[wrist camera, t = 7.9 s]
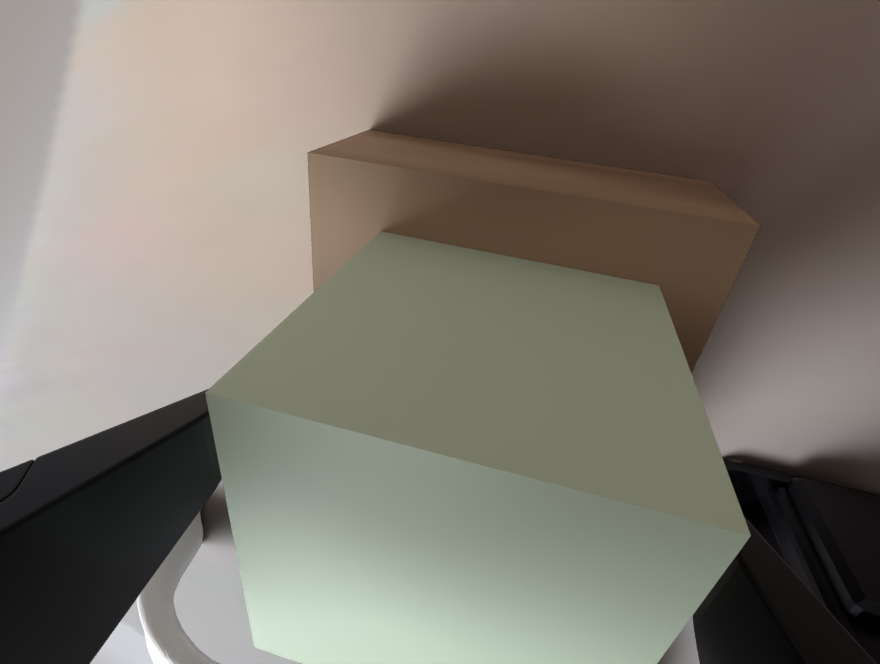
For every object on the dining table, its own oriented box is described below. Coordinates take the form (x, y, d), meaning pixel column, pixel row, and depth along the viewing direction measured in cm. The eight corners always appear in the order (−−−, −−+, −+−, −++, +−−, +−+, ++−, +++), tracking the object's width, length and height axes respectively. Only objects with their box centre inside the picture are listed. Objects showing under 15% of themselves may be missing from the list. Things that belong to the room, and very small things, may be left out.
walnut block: (608, 436, 17) (616, 532, 13) (367, 380, 18) (321, 454, 15) (708, 178, 12) (760, 225, 9) (373, 128, 13) (307, 152, 10)
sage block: (581, 484, 13) (585, 760, 8) (371, 429, 14) (254, 647, 9) (658, 285, 10) (750, 535, 5) (380, 231, 11) (204, 392, 6)
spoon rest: (677, 606, 20) (721, 843, 14) (582, 716, 26) (584, 912, 20) (175, 437, 23) (30, 575, 17) (198, 573, 29) (99, 710, 23)
